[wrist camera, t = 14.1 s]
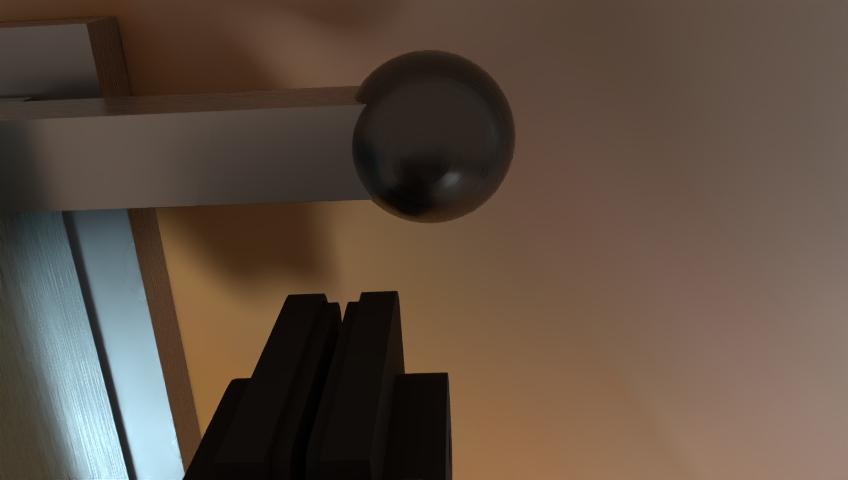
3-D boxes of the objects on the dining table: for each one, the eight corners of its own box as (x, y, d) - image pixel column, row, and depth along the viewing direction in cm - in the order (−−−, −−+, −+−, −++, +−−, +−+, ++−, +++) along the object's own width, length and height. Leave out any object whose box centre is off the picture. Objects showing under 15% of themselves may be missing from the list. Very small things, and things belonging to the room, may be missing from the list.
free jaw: (507, 31, 11) (529, 88, 7) (515, 556, 14) (532, 775, 11) (-196, 67, 11) (-513, 136, 8) (-19, 558, 15) (-177, 763, 11)
